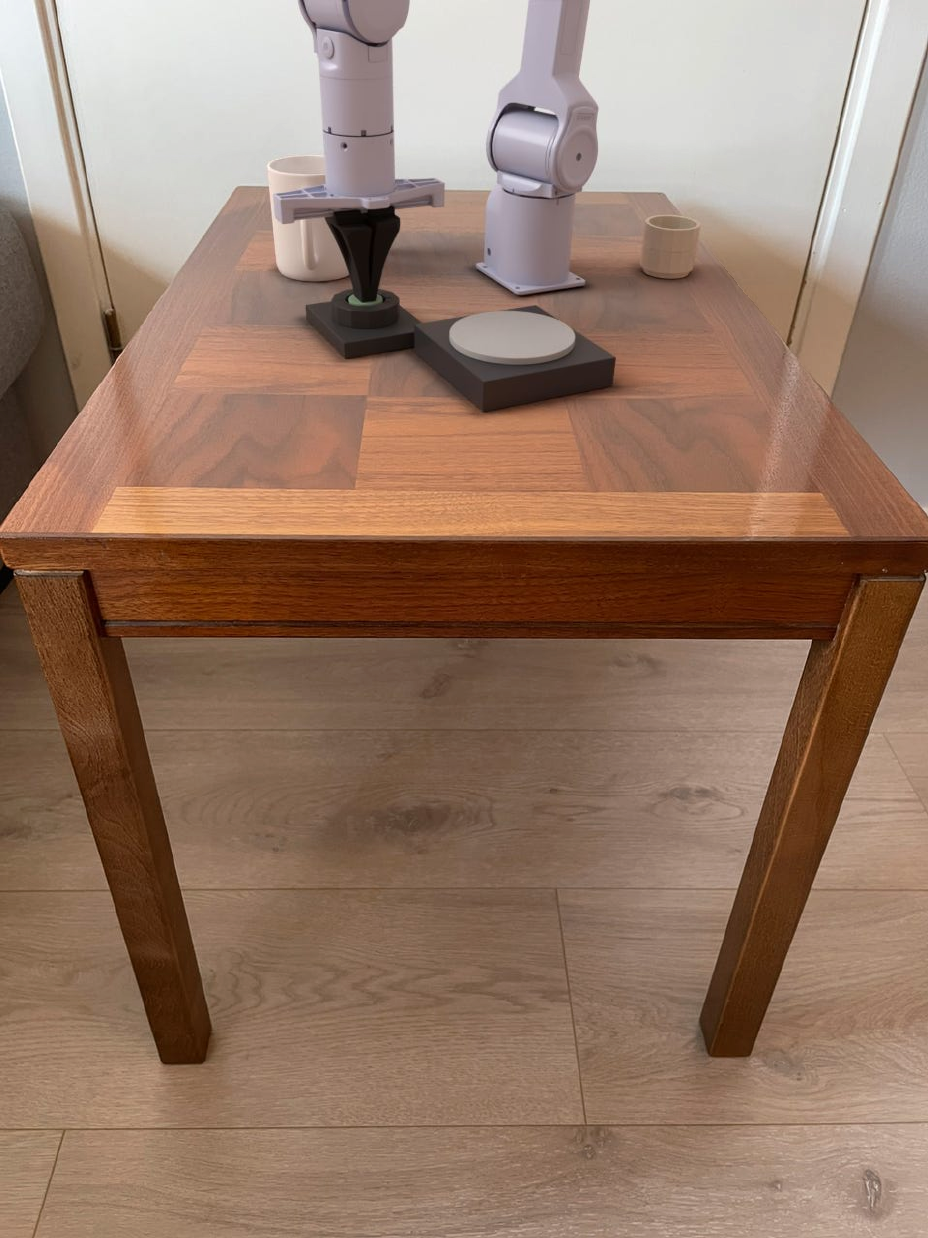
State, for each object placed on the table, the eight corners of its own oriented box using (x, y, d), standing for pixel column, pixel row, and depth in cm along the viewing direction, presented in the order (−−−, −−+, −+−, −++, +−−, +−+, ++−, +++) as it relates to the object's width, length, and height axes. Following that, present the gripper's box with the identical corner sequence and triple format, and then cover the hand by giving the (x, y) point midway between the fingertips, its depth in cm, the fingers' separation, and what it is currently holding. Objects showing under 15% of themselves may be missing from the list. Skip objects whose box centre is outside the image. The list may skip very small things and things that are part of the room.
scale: (414, 352, 85) (413, 317, 83) (534, 331, 89) (536, 297, 87) (482, 412, 75) (483, 374, 74) (612, 386, 80) (617, 349, 78)
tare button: (344, 311, 88) (343, 294, 87) (375, 307, 89) (374, 290, 88) (356, 323, 86) (355, 305, 85) (388, 318, 87) (387, 301, 86)
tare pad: (306, 319, 90) (303, 287, 88) (386, 307, 93) (385, 275, 91) (345, 358, 83) (343, 324, 81) (430, 344, 86) (430, 311, 84)
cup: (358, 257, 105) (354, 155, 99) (353, 295, 96) (348, 185, 89) (281, 256, 105) (272, 153, 99) (268, 294, 95) (256, 184, 89)
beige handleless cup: (628, 266, 104) (634, 217, 101) (671, 260, 107) (678, 212, 103) (659, 282, 101) (666, 232, 98) (703, 275, 103) (711, 226, 100)
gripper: (287, 146, 73) (301, 325, 81) (461, 132, 78) (458, 301, 86) (259, 128, 78) (275, 298, 86) (425, 116, 83) (425, 277, 91)
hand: (365, 298), depth 86 cm, fingers closed, pressing on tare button
